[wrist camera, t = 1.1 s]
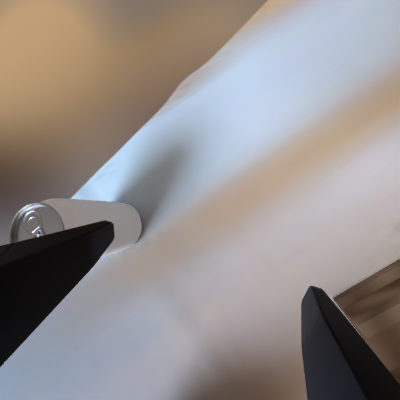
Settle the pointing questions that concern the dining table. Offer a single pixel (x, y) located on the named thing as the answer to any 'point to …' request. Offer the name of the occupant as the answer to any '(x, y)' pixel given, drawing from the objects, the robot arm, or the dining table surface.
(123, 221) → the can
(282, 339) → the dining table surface
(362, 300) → the chute
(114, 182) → the dining table surface
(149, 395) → the dining table surface
